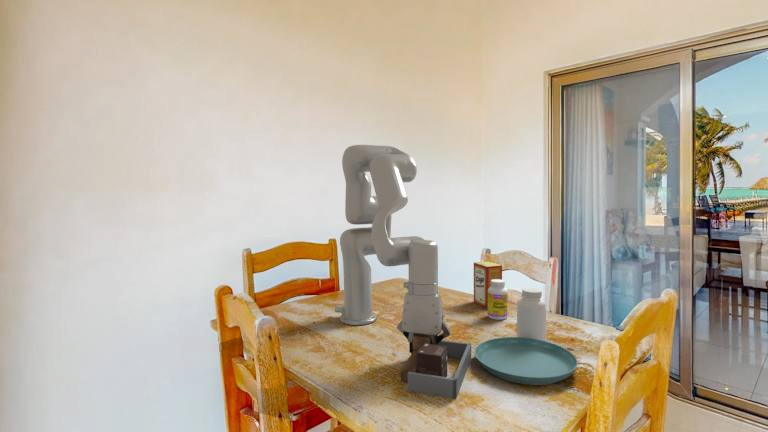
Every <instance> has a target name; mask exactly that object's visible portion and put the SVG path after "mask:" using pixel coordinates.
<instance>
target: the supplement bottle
mask: <svg viewBox="0 0 768 432" xmlns="http://www.w3.org/2000/svg"><path fill="white" fill-rule="evenodd" d="M491 285H492V286H491V287H490V288H489V289H488V308H487V317H488V318H490V319H492V320H497V321H500V320H501V321H503V320H506V319H508V316H509V315H508V313H509V311H508V308H509V300H508V299H509V291H508V289H507V287H505V285H506V281H505V280H503V279H502V280H501V279H493V280H491Z"/></svg>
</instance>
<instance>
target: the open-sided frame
mask: <svg viewBox="0 0 768 432" xmlns="http://www.w3.org/2000/svg"><path fill="white" fill-rule="evenodd" d="M438 345H440V346H447V358H448V357H450V358H455V359H456V358H457V359H458V358H459V359H460V362H459V363H458V367H457V369H456V371H455V374H454V375H453V377H448V376H447V377H441V376H435V375H428V374H421V373H415V372H408V383H407V391H409V392H414V393H419V394H425V395H432V396H439V397H442V398H444V397H445V398H450V399H456V398H458V396H459V394H460V389H461V387H462V385H463V382H464V379H465V377H466V374H467V371H468V368H469V367H470V363H471V360H472V343H470V342H461V341H453V340H444V339H442V340H441V341H440V342H439V343H438ZM456 400H457V399H456Z"/></svg>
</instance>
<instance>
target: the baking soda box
mask: <svg viewBox="0 0 768 432" xmlns="http://www.w3.org/2000/svg"><path fill="white" fill-rule="evenodd" d="M493 279H501V280H503V265H502V264H498V263H495V262H491V261H476V262H473V303H475V304H477V305H479V306H481V307H483V308H485V309H488V289H489V288H490V287H491V286H492V285H491V280H493Z"/></svg>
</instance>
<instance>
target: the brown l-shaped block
mask: <svg viewBox="0 0 768 432" xmlns="http://www.w3.org/2000/svg"><path fill="white" fill-rule="evenodd" d="M423 344H432V341H431V336H430V335H424V334H416V333H415V334H414V335H413V353H412V354H411V353H410V356H409V357H408V358H407V360H405V362H404V363H403V365H402V366H401V367H400V383H406V384H408V372H415V373H417V359H416V358H417V354H416V353H417V351H418V350H419V348H420V347H421V346H422V345H423Z"/></svg>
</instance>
